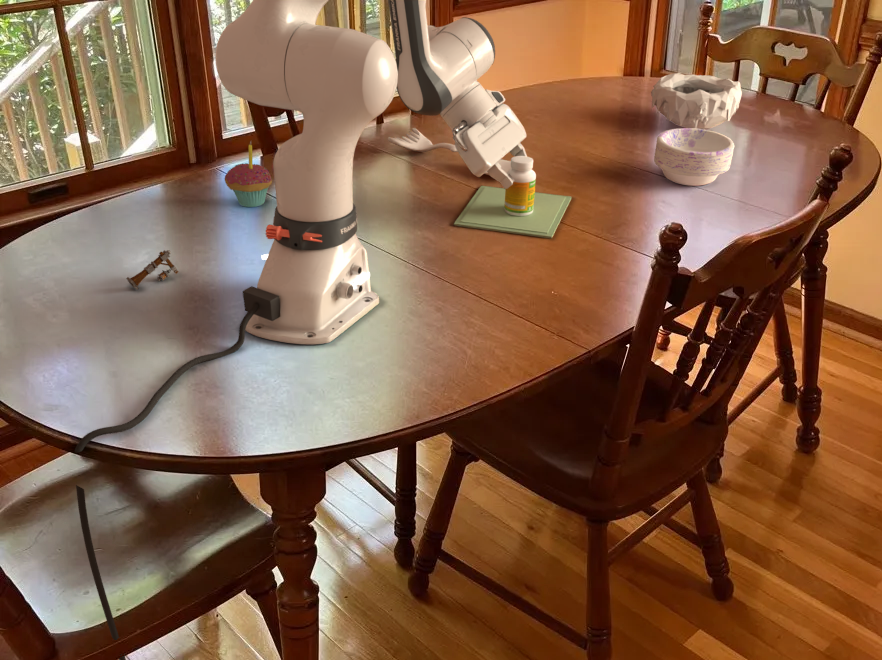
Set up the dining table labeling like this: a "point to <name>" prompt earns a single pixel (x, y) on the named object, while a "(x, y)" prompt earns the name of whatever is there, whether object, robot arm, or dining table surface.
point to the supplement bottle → (520, 187)
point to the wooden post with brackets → (151, 267)
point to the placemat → (492, 216)
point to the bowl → (696, 99)
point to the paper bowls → (693, 155)
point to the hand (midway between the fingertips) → (519, 177)
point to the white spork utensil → (432, 146)
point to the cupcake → (249, 182)
